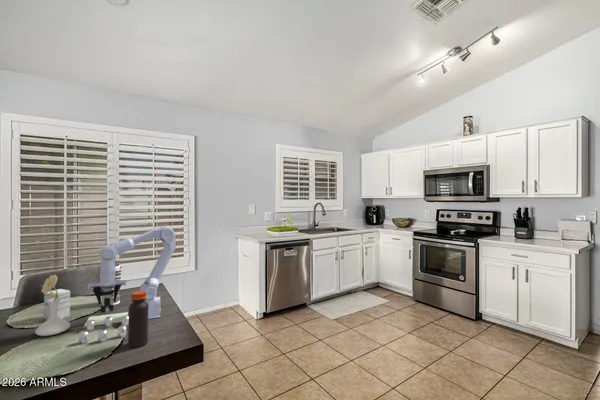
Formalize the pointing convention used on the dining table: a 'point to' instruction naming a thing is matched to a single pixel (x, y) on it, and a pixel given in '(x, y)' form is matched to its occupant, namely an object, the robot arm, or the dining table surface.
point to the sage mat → (101, 319)
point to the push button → (107, 300)
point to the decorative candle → (117, 266)
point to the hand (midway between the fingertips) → (107, 302)
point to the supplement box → (63, 305)
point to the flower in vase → (52, 311)
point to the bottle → (138, 320)
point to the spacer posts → (103, 333)
